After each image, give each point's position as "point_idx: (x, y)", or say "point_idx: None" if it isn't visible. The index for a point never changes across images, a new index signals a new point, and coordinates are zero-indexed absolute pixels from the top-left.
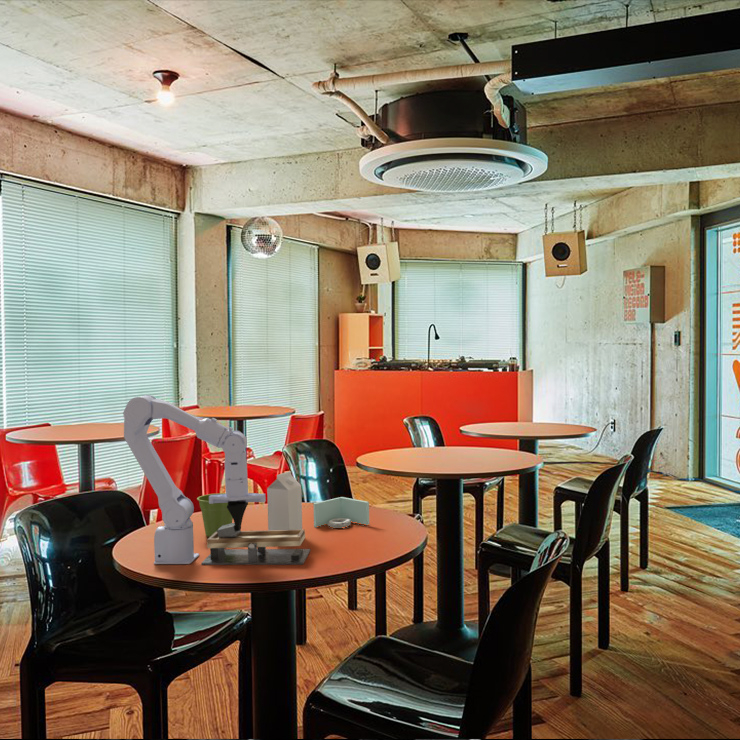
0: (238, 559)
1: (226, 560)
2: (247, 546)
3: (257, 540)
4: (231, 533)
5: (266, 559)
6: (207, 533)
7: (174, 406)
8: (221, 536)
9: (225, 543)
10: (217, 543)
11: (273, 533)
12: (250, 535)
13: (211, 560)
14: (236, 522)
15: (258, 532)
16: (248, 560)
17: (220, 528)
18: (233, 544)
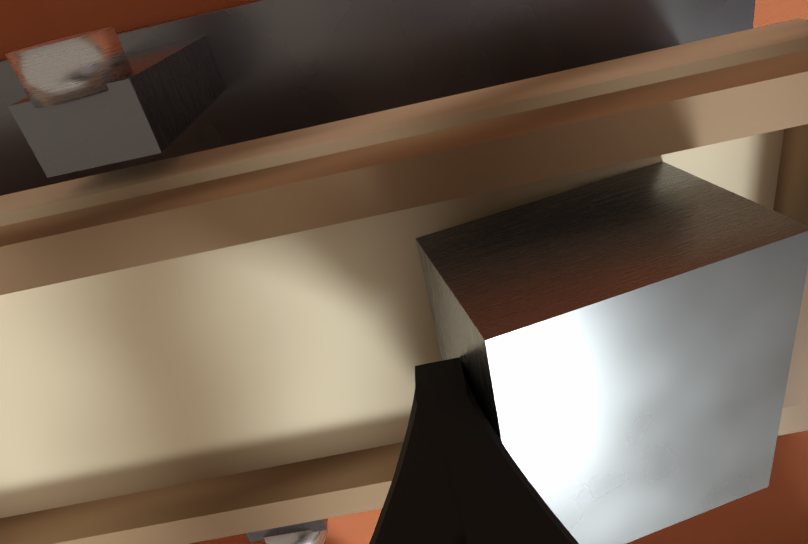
0: (370, 109)
1: (487, 47)
2: (215, 151)
3: (46, 224)
4: (502, 256)
5: (82, 171)
6: None
7: None
8: (665, 198)
9: (541, 96)
10: (671, 66)
11: (90, 513)
12: (354, 447)
13: (662, 10)
14: (458, 459)
15: (259, 495)
16: (197, 37)
17: (762, 331)
18: (412, 115)
